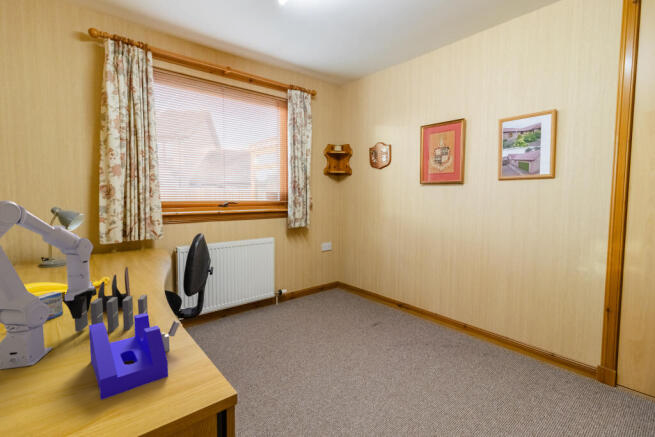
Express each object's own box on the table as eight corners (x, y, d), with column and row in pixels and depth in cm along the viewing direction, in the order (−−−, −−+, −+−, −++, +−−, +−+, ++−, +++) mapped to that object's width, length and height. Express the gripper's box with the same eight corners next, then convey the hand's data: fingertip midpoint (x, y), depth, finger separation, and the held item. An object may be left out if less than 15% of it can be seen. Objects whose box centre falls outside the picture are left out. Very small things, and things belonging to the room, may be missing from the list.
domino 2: (97, 333, 102) (96, 303, 102) (91, 333, 102) (90, 303, 101) (103, 326, 107) (102, 298, 106) (98, 327, 107) (96, 298, 106)
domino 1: (81, 331, 101) (79, 300, 100) (75, 331, 100) (73, 301, 100) (88, 324, 106) (86, 295, 105) (82, 325, 105) (80, 296, 104)
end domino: (144, 328, 106) (143, 299, 106) (138, 328, 106) (137, 299, 105) (148, 322, 111) (147, 294, 110) (142, 322, 111) (141, 295, 110)
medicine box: (40, 323, 110) (38, 298, 109) (30, 321, 111) (28, 297, 110) (63, 314, 118) (62, 292, 117) (54, 313, 119) (52, 291, 118)
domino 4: (129, 329, 105) (127, 300, 104) (123, 330, 104) (122, 300, 104) (133, 323, 110) (132, 295, 109) (128, 324, 109) (127, 296, 108)
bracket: (91, 363, 85) (88, 325, 84) (147, 346, 94) (146, 312, 93) (101, 401, 69) (98, 355, 69) (168, 377, 78) (166, 336, 78)
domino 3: (113, 331, 104) (112, 301, 103) (107, 331, 103) (106, 302, 102) (118, 325, 108) (117, 296, 108) (113, 325, 108) (111, 297, 107)
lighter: (153, 354, 89) (152, 327, 88) (152, 352, 90) (151, 325, 90) (180, 347, 93) (179, 321, 93) (179, 345, 95) (178, 319, 94)
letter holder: (130, 295, 141) (128, 264, 139) (129, 309, 124) (127, 274, 123) (102, 299, 135) (101, 267, 134) (97, 314, 119) (95, 277, 117)
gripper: (83, 279, 96) (85, 322, 97) (101, 268, 110) (103, 306, 111) (55, 281, 94) (58, 325, 95) (77, 269, 108) (79, 308, 109)
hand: (80, 315), depth 103 cm, fingers closed on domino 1, 5 cm apart
